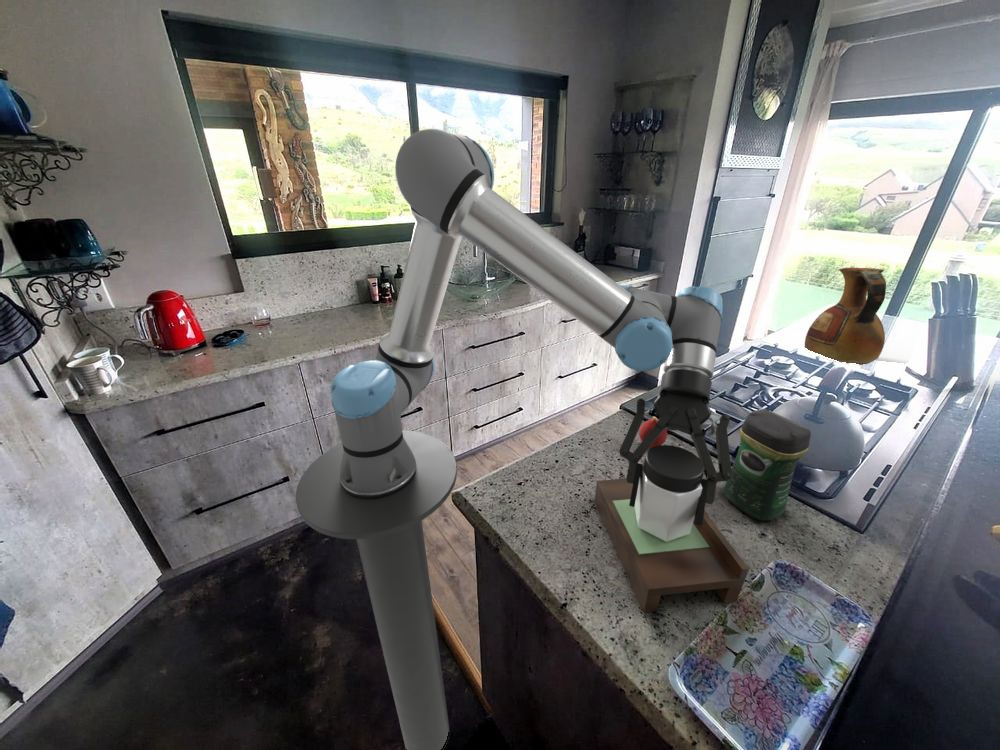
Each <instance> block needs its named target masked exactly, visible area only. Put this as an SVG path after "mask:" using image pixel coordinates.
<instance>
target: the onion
mask: <svg viewBox="0 0 1000 750" xmlns="http://www.w3.org/2000/svg"><path fill="white" fill-rule="evenodd" d="M658 421H659V418H657V417H656V416H652V418H650V419H648V420H645V421H644V422H642V423H641V426H640V428H639V430H638V436H639V438H640V441H641V442H642V441H643V440H644V439H645V437H646V436H647V435H648V434H649V432H650V431H651V430H652V429H653V427H654V426H655V425H656V423H657V422H658ZM667 430H668V429H667V428H665V429H664V430H663V432H662V433H661V434H660V435H659V436H658V438H657V439H656V440H655V441H654V443H653V444H652V445H651V446H650V448H649V449H651V448H653V447H655V446H659V445H664V443H666V440H667V439H668V438H667V437H668V431H667Z"/></svg>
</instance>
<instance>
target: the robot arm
mask: <svg viewBox="0 0 1000 750" xmlns="http://www.w3.org/2000/svg"><path fill="white" fill-rule="evenodd" d="M394 165H395V166H394V171H395V175H394V176H395V180H396V184H397V187H398V189H399V191H400V194H401V195H402V197H403V199H404V200H405V201H406V203H407V204H408V205H409V210H410V213H411V214H412V215H413V217H414V219H415V224H414V227H413V232H412V237H411V241H410V244H409V245H410V246H409V249H408V253H407V257H406V262H405V266H404V271H403V274H402V279H401V283H400V287H399V292H398V295H397V298H396V299H397V300H396V304H395V308H394V311H393V312H394V313H393V317H392V321H391V325H390V329H389V332H387V333H385V334H383V335H382V336H381V337H380V339H379V341H378V347H377V351H376V355H375V359H374V360H364V361H360V362H356V364H350V365H348V366H346V367H344V368H343V369H341V371H339V372H338V373H337V374H335V376H334V377H333V379H332V382H331V384H330V393H331V405H332V409H333V411H334V415H335V420H336V425H337V427H338V432H339V436H340V441H341V443H342V445H343V456H342V462H341V468H340V481H341V485H342V488H343V489H344V491H345V492H346V493H348V494H349V495H351V496H353V497H356V498H361V499H377V498H382V497H386V496H389V495H392V494H394V493H396V492H398V491H400V490H401V489H403V488H404V487H406V486H407V485H408V484H409V483H410V482H411V481H412V479H413V478H414V476H415V474H416V469H417V468H416V460H415V457H414V455H413V453H412V451H411V449H410V448H409V446H408V444H407V442H406V441H405V439H404V437H403V432H402V430H403V425H402V418H401V417H402V414H403V413H404V412H405V410H406V409H407V408H408V407H409V406H410V405H411V403H413V401H414V400H415V399H416V398H417V397H418V395H419V394H420V393H422V391H424V390H425V389H426V388H427V386H428V385H429V384H430V382H431V380H432V378H433V375H434V374H435V373H434V372H435V361H434V360H435V359H434V356H435V349H434V347H433V346H432V344H431V341H432V338H433V335H434V332H435V328H436V325H437V322H438V318H439V315H440V312H441V308H442V306H443V302H444V299H445V295H446V292H447V288H448V285H449V283H450V279H451V275H452V271H453V268H454V265H455V262H456V259H457V255H458V252H459V248H460V244H461V241H462V239H463V238H464V239H465V240H467V241H468V242H469V243H471V244H472V245H474V246H475V247H477V248H478V249H479V250H481V251H482V252H483V253H484V254H486V255H488V256H489V257H490V258H491V259H493V260H494V261H495V262H497V263H498V264H499V265H501V266H502V267H504V268H505V269H506V270H508V271H509V272H510V273H512V274H514V275H515V276H516V277H517V278H519V279H520V280H522V281H523V282H524V283H526V284H527V285H528V286H530V287H531V288H533V290H535V291H536V292H538V293H539V294H541V295H542V296H543V297H545V298H546V299H547V300H549V301H550V302H552V303H553V304H554V305H556V306H557V307H558V308H560V309H561V310H563V311H564V312H565V313H566V314H568V315H569V316H571V317H572V318H574V319H575V320H576V321H578V322H579V323H581V325H583V326H585V327H586V328H587V329H589V330H590V331H591V332H593V334H595V335H597V336H598V337H599V338H601V339H602V340H603V341H604V342H605V343H607V344H608V345H610V346H611V347H613V348H614V351H615V354H616V356H617V357H618V359H619V360H620V362H621V363H622V364H623V365H624V366H625V367H626V368H628V369H631V370H633V371H636V372H637V371H638V372H648V371H652V370H655V369H657V368H659V367H661V366H662V365H663V369H662V370H663V372H664V373H663V374H662V375H661V380H660V384H659V385H660V386H659V390H658V396H657V398H656V399H655V400H654V401H650V400H645V399H644V398H639V399H637V401H636V412H635V415H634V417H633V419H632V422H631V424H630V426H629V427H628V429H627V433H626V434H625V436H624V439H623V441H622V444H621V445H620V448H619V455H620V458H621V457H622V458H623V459H625V460H626V461H627V462H628V467H627V473H626V478H625V479H627V483H631V484H633V487H632V493H631V498H630V503H629V506H631V507H634V506H635V501H636V495H637V490H638V485H639V479H640V474H641V468H642V463H639V462H640V460H641V459H642V458H643V457H644V456H645V455H646V453H647V451H648V450H649V449H651V448H650V446H651V445H652V444H653V443H654V441H655V440H656V439H657V438H658V436H659V435H660V434H661V433H662V432H663V430H664V429H665V428H666V430H669V431H679V432H680V433H683V434H689V435H690V438H691V440H692V442H693V445H694V448H695V451H696V454H697V457H698V458H699V459H700V460H701V461H702V463H703V466H704V472H703V473H704V474H703V475H704V477H705V478H702V481H701V486H702V492H701V495H700V499H699V503H698V506H697V510H696V514H695V521H694V524H696V525H702V524H703V517H704V510H705V509H706V504H708V505H712V504H713V503H714V501H715V498H716V491H717V490H716V489H717V484H718V483H719V482H720V483H721V482H726V481H728V480H729V479H731V478H732V470H731V469H732V463H731V453H730V445H729V444H730V443H729V434H728V428H729V424H730V421H731V416H730V415H729V414H727V413H724V414H720V413H716V412H713V411H712V410H711V407H710V398H711V393H712V392H711V390H712V386H713V381H712V378H713V377H714V371H715V364H716V358H717V348H718V341H719V337H720V330H721V325H722V322H723V308H724V307H723V300H724V299H723V297H722V295H721V293H720V292H719V291H717V290H716V289H714V288H712V287H709V286H707V285H706V286H705V285H699V286H694V285H692V286H687V287H685V288H683V289H680V291H679V292H678V293H677V295H669V294H664V293H660V292H656V291H652V290H648V289H642V288H638V287H634V286H633V285H622V284H619V283H617V282H616V281H615V280H613V279H612V278H611V277H609V276H608V275H607V274H605V273H604V272H602V271H601V270H600V269H599V268H597V267H596V266H594V265H593V264H592V263H591V262H589V261H588V260H586V259H585V258H584V257H583V256H581V255H580V254H578V253H577V252H576V251H575V250H574V249H573V248H571V247H570V246H568V245H567V244H565V243H564V242H562V241H561V240H560V239H559V238H557V237H556V236H555V235H553V234H552V233H550V232H549V231H548V230H546V229H545V228H544V227H543V226H541V225H540V224H539V223H537V222H536V221H534V220H533V219H532V218H530V217H529V216H528V215H527V214H525V213H524V212H523V211H521V210H520V209H518V208H517V207H515V205H513V204H512V203H510V201H508V200H506V199H505V198H504V197H503V196H502V195H500V194H498V193H497V192H496V191H495V190H493V188H494V184H495V171H494V165H493V163H492V159H491V158H490V155H489V154H488V152H487V151H486V149H484V147H483V146H482V145H481V144H479V142H477V141H476V140H474V139H472V138H470V137H468V136H467V135H463V134H461V133H455V132H450V131H446V130H443V129H439V128H425V129H421V130H418V131H416V132H414V133H412V134H411V135H410V136H409V137H408V138H406V139H405V141H404V142H403V143H402V144H401V146H400V148H399V150H398V152H397V155H396V158H395V164H394ZM651 410H654V412H655V413H656V415H657V417H658V420H659V421H658V422H657V423H656V425H655V426H654V427H653V429H652V430H651V431H650V432H649V434H648V435H647V436H646V437H645V439H644V440H643V441H641V442H640V444H639V445H638V446H637V447H636V449H635V450H634V451H633V452H631V451H630V450H631V448H632V446H633V443H634V441H635V439H636V437H637V434H638V433H639V430H640V427H641V425H642V424H643V421H644V418H645V415H649V414H650V411H651ZM708 420H709V421H711V426H712V427H713V428H714V429H715V445H716V451H717V452H716V454H717V464H718V472H717V470H716V467H715V465H714V462H713V459H712V457H711V453H710V451H709V448H708V445H707V443H706V440H705V437H704V434H703V430H702V427H701V426H702V425H703V424H705V423H706V422H707V421H708ZM705 511H706V510H705Z"/></svg>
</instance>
